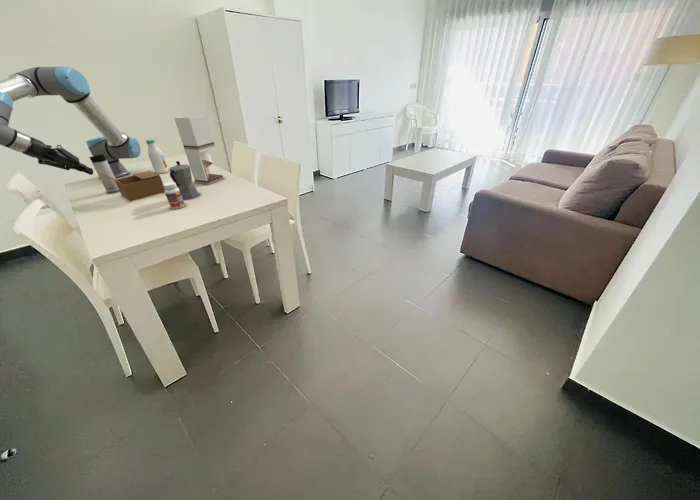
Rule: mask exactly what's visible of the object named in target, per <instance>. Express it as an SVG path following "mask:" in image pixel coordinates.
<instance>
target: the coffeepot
mask: <svg viewBox="0 0 700 500" xmlns="http://www.w3.org/2000/svg"><path fill="white" fill-rule="evenodd" d="M175 163H176V165H174V166H171V167H169V168H168V171H169V176H170V178H171V180H172V182H175V183H176V185H177V188H179V190H180V193H181V196H182V198H183V200H192V199H195V198H197V197H199V194H200V193H199V191H198V190H197V187H196V186H195V184H194V182H193V175H192V171H191V168H190V165H189V163H188V164H181V163H180V160H176V161H175Z"/></svg>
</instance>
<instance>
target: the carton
mask: <svg viewBox="0 0 700 500" xmlns="http://www.w3.org/2000/svg"><path fill="white" fill-rule="evenodd" d="M115 179H116V180H117V181H119V182H121V183H122V184H121V183H119V182H117V181H115V182H116V184H117V186H118V188H119V190H120V191H119V193H120V195H121V196H122V197H123V198H125V199H127V200H128V201H129V202H133V201H138V200H141V199H144V198H148V197H152V196H156V195H159V194H164V193H165V192H164V191H165V190H166V189H164V186H163V184H164V183H163V180H162V178H161V176H160V174H158V173H155V171H153V170H146V171H141V172H136V173H132V175H129V176H126V177H125V176H124V177H120V178H115Z"/></svg>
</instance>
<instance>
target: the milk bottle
mask: <svg viewBox="0 0 700 500" xmlns="http://www.w3.org/2000/svg"><path fill="white" fill-rule="evenodd" d="M145 143H146V145H147V154H148V158H149V161H150V163H151V166H152V168H153V170H154V171H153V172H154V173H156V174H158V175H160V174H165V173H168V172H169V168H168V165H167V162H166V160H165V156H164V155H163V152H162V151H161V149H160V148H159V147H158V146H157V145H156V141H155V139H147V140H145Z"/></svg>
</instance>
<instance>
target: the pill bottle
mask: <svg viewBox="0 0 700 500" xmlns="http://www.w3.org/2000/svg"><path fill="white" fill-rule="evenodd" d="M163 186H164V189H165V191H164V192H163V193H164V194H165V197H166V200H167V202H168V204H169V207H170V209H172V210H177V209H182V208H184V207H185V205H186V204H185V202H184V199H183V198H182V196H181V193H180V190H179V188H178V187H177V185H176V183H175V182H174V181H169V182H165V183H163Z"/></svg>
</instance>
